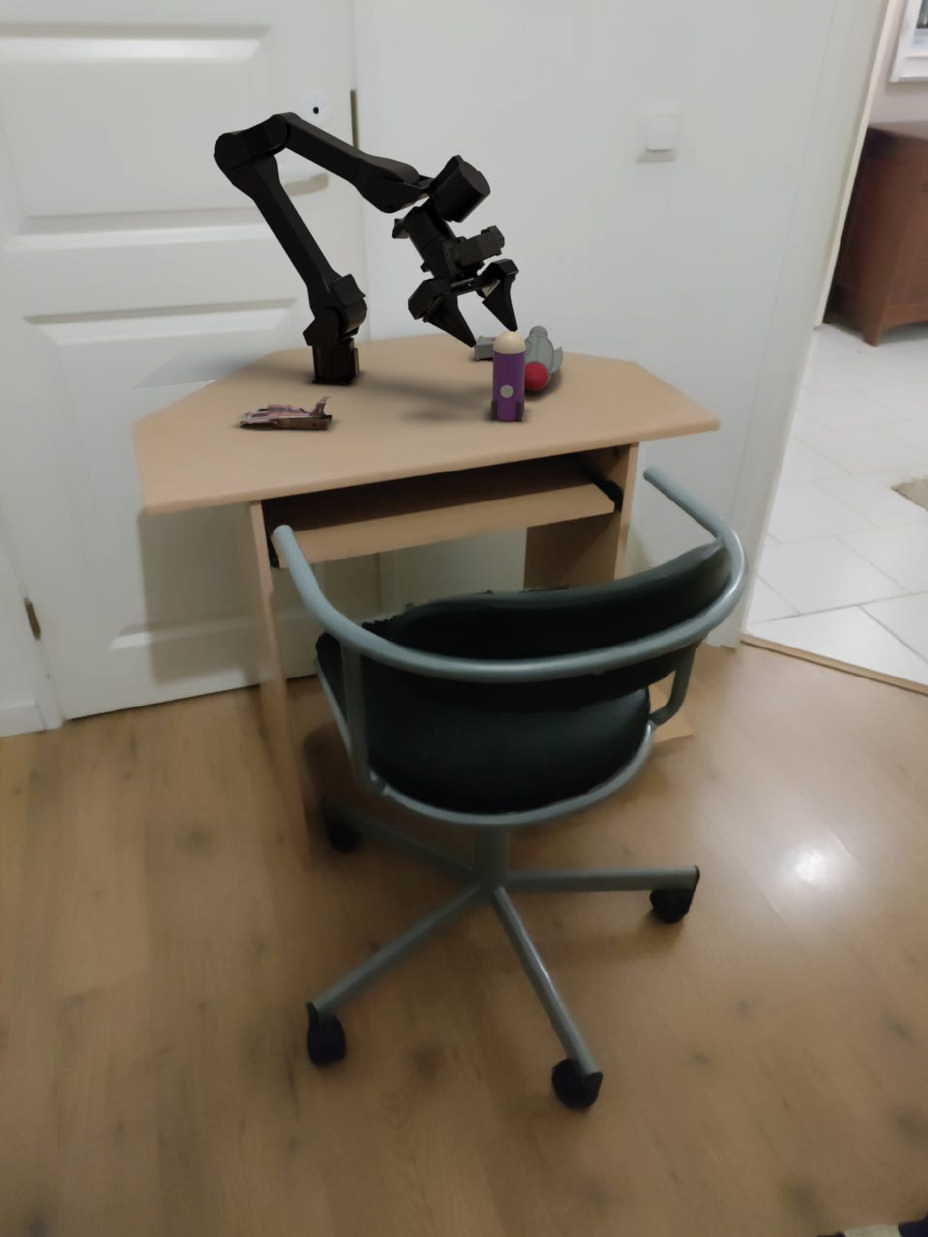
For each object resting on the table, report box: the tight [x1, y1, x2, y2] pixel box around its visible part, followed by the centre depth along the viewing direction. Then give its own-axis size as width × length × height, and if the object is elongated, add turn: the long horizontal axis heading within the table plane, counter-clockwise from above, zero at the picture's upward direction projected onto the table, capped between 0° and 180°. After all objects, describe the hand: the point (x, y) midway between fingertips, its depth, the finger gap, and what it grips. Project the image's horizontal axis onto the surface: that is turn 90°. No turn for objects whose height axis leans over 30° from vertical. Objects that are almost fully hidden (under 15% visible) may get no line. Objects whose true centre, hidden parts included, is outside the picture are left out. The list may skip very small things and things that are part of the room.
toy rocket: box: [490, 330, 526, 423], centre depth 130 cm, size 5×5×12 cm
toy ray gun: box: [473, 325, 564, 392], centre depth 147 cm, size 6×25×15 cm
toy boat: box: [239, 395, 333, 430], centre depth 129 cm, size 13×6×4 cm, turn 84°
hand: (495, 338), depth 129 cm, fingers open, 9 cm apart
